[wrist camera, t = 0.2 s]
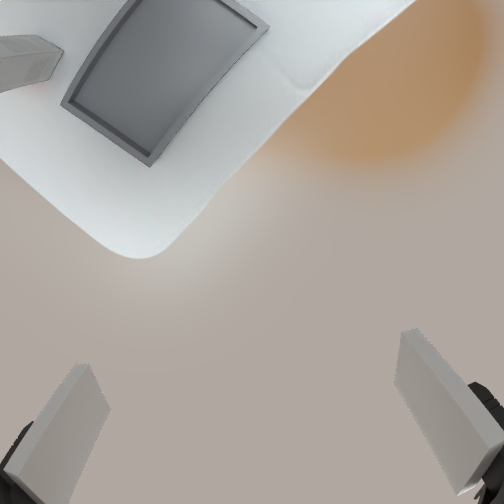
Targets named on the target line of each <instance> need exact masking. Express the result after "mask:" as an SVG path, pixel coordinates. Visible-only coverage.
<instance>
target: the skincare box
mask: <svg viewBox="0 0 504 504" xmlns="http://www.w3.org/2000/svg"><path fill="white" fill-rule="evenodd" d="M62 54H63V50H61V49H59V48H57V47H56V46H54V45H52V44H50V43H48V42H47V41H45V40H43V39H41V38H39V37H38V36H36V35H15V36H0V93H1V92H4V91H8V90H11V89H14V88H18V87H22V86H25V85H29V84H33V83H37V82H41V81H45V80H48V79H49V78H50V76H51V74H52V72H53V70H54V68H55V66H56V64H57V63H58V61H59V59H60V57H61V55H62Z"/></svg>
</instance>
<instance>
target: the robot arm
mask: <svg viewBox="0 0 504 504" xmlns="http://www.w3.org/2000/svg"><path fill="white" fill-rule="evenodd" d="M394 384H395V385H396V387H397V389H398V390H399V392H400V394H401V396H402V397H403V399H404V401H405V402H406V404H407V406H408V408H409V409H410V411H411V412H412V414H413V416H414V418H415V420H416V421H417V423H418V425H419V427H420V429H421V430H422V432H423V434H424V436H425V437H426V439H427V441H428V443H429V445H430V447H431V448H432V450H433V452H434V454H435V456H436V458H437V460H438V461H439V463H440V465H441V467H442V469H443V471H444V473H445V475H446V476H447V479H448V480H449V482H450V484H451V486H452V488H453V490H454V492H455V494H456V496H458V495H460V494H462V493H464V492H466V491H468V490H470V489H472V488H474V487H475V486H476V485H477V483H478V482H479V480H480V479H481V478H482V479H483V481H484V483H485V484H484V485H483V486H482V488H481V489H480V490H479V492H478V493H477V494H476V496H475V498H474V499H477V498H478V497H479V496H480V498H479V502H478V504H504V408H503V407H502V406H500V403H499V402H498V401H497V399H494V396H493V395H492V394H491V393H490V391H489V390H488V389H487V388H486V387H484V386H482V385H481V384H479V383H477V382H473V383H471V384H469V385H467V384H466V383H465V382H464V381H463V380H462V378H461V377H460V376H459V375H458V374H457V373H456V371H455V370H454V369H453V368H452V367H451V366H450V365H449V363H448V362H447V361H446V360H445V359H444V358H443V356H442V355H441V354H440V353H439V352H438V351H437V350H436V348H435V347H434V346H433V345H432V344H431V343H430V342H429V341H428V340H427V338H426V337H425V336H424V335H423V334H422V333H421V332H420V331H419V330H418V329H417V328H416V329H412V330H407V331H403V332H401V339H400V347H399V355H398V361H397V368H396V374H395V380H394ZM110 410H111V409H110V407H109V405H108V403H107V401H106V399H105V397H104V395H103V393H102V391H101V389H100V387H99V384H98V382H97V380H96V378H95V376H94V374H93V371H92V369H91V367H90V365H89V364H75V365H74V367H73V368H72V369H71V371H70V372H69V373H68V375H67V376H66V378H65V379H64V380H63V381H62V383H61V384H60V386H59V387H58V388H57V390H56V391H55V393H54V394H53V395H52V397H51V398H50V400H49V401H48V403H47V404H46V405H45V407H44V408H43V410H42V411H41V413H40V414H39V415H38V417H37V418H36V420H35V421H34V422H33V421H32V422H31V423H30V424H28V425H27V426H26V427H25V428H24V429H23V430H22V431H21V433H20V434H19V436H18V439H16V441H15V442H14V445H12V446H11V448H10V449H9V451H8V453H7V454H6V456H5V457H4V459H3V461H2V462H1V464H0V504H68V503H69V500H70V498H71V496H72V494H73V491H74V489H75V487H76V484H77V482H78V480H79V477H80V475H81V473H82V470H83V468H84V466H85V463H86V462H87V459H88V457H89V455H90V453H91V451H92V448H93V446H94V444H95V442H96V440H97V438H98V435H99V433H100V431H101V429H102V427H103V425H104V423H105V420H106V419H107V417H108V414H109V412H110Z"/></svg>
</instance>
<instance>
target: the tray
mask: <svg viewBox="0 0 504 504" xmlns="http://www.w3.org/2000/svg"><path fill="white" fill-rule="evenodd" d="M269 27H270V26H268V25H267V24H266V23H265V22H263V21H262V20H261V19H259V18H258V17H257V16H255V15H254V14H253V13H251V12H250V11H249V10H247V9H246V8H244V7H243V6H242V5H240V4H239V3H237V2H236V1H234V0H128V1H127V2H126V4H125V5H124V6H123V7H122V9H121V10H120V11H119V12H118V14H117V15H116V16H115V18H114V19H113V20H112V22H111V23H110V24H109V26H108V27H107V28H106V30H105V31H104V33H103V34H102V35H101V37H100V38H99V40H98V41H97V43H96V44H95V46H94V47H93V49H92V50H91V52H90V53H89V55H88V56H87V58H86V60H85V61H84V63H83V64H82V66H81V68H80V69H79V71H78V73H77V74H76V76H75V78H74V80H73V81H72V83H71V85H70V87H69V88H68V90H67V92H66V94H65V96H64V98H63V100H62V102H61V104H60V105H61V106H62V107H63V108H65V109H66V110H68V111H69V112H71V113H72V114H74V115H75V116H76V117H78V118H79V119H81V120H82V121H84V122H85V123H87V124H88V125H89V126H91V127H92V128H94V129H95V130H97V131H98V132H100V133H101V134H102V135H104V136H105V137H107V138H108V139H110V140H111V141H112V142H114V143H115V144H117V145H118V146H120V147H121V148H122V149H124V150H125V151H127V152H128V153H130V154H131V155H132V156H134V157H135V158H137V159H138V160H139V161H141V162H142V163H144V164H145V165H147V166H148V167H149V168H150V167H151V166H152V164H153V163H154V162H155V161H156V159H157V158H158V156H159V155H160V154H161V152H162V151H163V150H164V148H165V147H166V145H167V144H168V143H169V141H170V140H171V139H172V137H173V136H174V135H175V134H176V132H177V131H178V130H179V128H180V127H181V126H182V125H183V123H184V122H185V121H186V119H187V118H188V117H189V116H190V114H191V113H192V112H193V111H194V109H195V108H196V107H197V106H198V105H199V103H200V102H201V101H202V100H203V99H204V97H205V96H206V95H207V94H208V93H209V92H210V90H211V89H212V88H213V87H214V86H215V85H216V83H217V82H218V81H219V80H220V79H221V78H222V77H223V76H224V74H225V73H226V72H227V71H228V70H229V69H230V68H231V67H232V66H233V65H234V63H235V62H236V61H237V60H238V59H239V58H240V57H241V56H242V55H243V54H244V53H245V52H246V51H247V50H248V49H249V48H250V47H251V46H252V45H253V44H254V43H255V42H256V41H257V40H258V39H259V38H260V37H261V36H262V35H263V34H264V33H265V32H266V31H267V30H268V29H269Z"/></svg>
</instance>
